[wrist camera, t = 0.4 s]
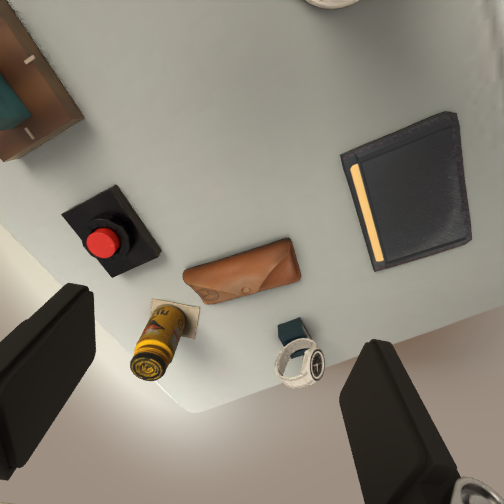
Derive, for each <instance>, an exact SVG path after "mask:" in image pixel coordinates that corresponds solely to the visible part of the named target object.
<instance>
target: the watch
mask: <svg viewBox="0 0 504 504" xmlns="http://www.w3.org/2000/svg"><path fill="white" fill-rule="evenodd" d="M278 335H279V339H280V341H281V342H282V344H283V346H284V348H282V349H281V351H280V353H279V354H278V357H277V359H276V362H275V368H276V369H275V370H276V373H277V375H278V376H279V378H280V379H281V381H282V382H283V383H284V384H285V385H286V386H288V387H290V388H295V389H297V388H303V387H306V386H310V385H312V384H313V383H314V382H315V381H316V382H317V381H319V380H320V379H321V378H322V376H323V373H324V369H325V359H324V355H323V353H322V351H321V350H320V349H319V348H318V347H317V345H316V343H315V342H314V341H312V339H311V337H310V335H309V333H308V331H307V329H306V328H305V326H304V324H303V322H302V320H301V318H297V319H294V320H292V321H289V322H286V323H283V324H281V325H278ZM304 354H305V355H304ZM301 355H304V358H303V367H302V369H301V371H300V374H301V375H299V376H298V377H297V376H296V377H293V378H292V377H291V378H287V377H283V373H284V371H285V367H286V365H287V363H288V361H289V359H290V357H291V359H293V358H296V357H298V356H301Z"/></svg>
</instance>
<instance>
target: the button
mask: <svg viewBox="0 0 504 504" xmlns="http://www.w3.org/2000/svg"><path fill="white" fill-rule="evenodd" d="M87 247H88V249H89V250H90V252H91V253H93V254H94V255H95V256H97V257H100V258H108V257H110V256H112V255H113V254H114V253H115V252H116V251H117V250H118V249H119V247H120V240H119V237H118V236H117V234H116V233H115V232H113V231H112V230H110V229H107V228H100V229H97V230H96V231H94V232H93V233H92V234H91V235H89V237H88V238H87Z"/></svg>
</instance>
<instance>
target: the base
mask: <svg viewBox="0 0 504 504" xmlns="http://www.w3.org/2000/svg"><path fill="white" fill-rule="evenodd" d="M0 73H1V74H2V76H3V77H4V78H5V80H6V81H7V82H8V84H9V85H10V86H11V88H12V89H13V90H14V92H15V93H16V95H17V96H18V97H19V99H20V100H21V101H22V103H23V104H24V105H25V107H26V108H27V110H28V111H29V112H30V114H31V115H32V116H31V117H29V118H28V119H26V120H25V121H23V122H21V123H20V124H18V125H17V126H15V127H14V128H12V129H8V130H0V159H1V160H2V161H3V162H6V161H10V160H14V159H18V158H20V157H22V156H24V155H25V154H27V153H29V152H30V151H32V150H33V149H35V148H37V147H38V146H40V145H41V144H43V143H45V142H46V141H48V140H50V139H51V138H53V137H54V136H56V135H58V134H59V133H61V132H63V131H64V130H66V129H67V128H69V127H71V126H72V125H74V124H76V123H77V122H79V121H80V120H82V119H84V116H83V115H82V113H81V112H80V110H79V109H78V107H77V106H76V104H75V103H74V101H73V100H72V98H71V97H70V95H69V94H68V92H67V91H66V89H65V88H64V86H63V85H62V83H61V82H60V80H59V79H58V77H57V76H56V74H55V73H54V71H53V70H52V68H51V67H50V65H49V64H48V62H47V61H46V59H45V58H44V56H43V55H42V53H41V52H40V50H39V49H38V47H37V46H36V44H35V43H34V41H33V40H32V38H31V37H30V35H29V34H28V32H27V31H26V29H25V28H24V26H23V25H22V23H21V22H20V20H19V19H18V17H17V16H16V14H15V13H14V11H13V10H12V8H11V7H10V5H9V4H8V2H7V1H6V0H0Z"/></svg>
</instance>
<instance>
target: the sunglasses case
mask: <svg viewBox="0 0 504 504" xmlns="http://www.w3.org/2000/svg"><path fill="white" fill-rule="evenodd" d="M300 278H301V273H300V269H299V266H298V262H297V259H296V255H295V251H294V248H293V244H292V241H291V239H290V238H285V239H281V240H278V241H275V242H272V243H269V244H266V245H264V246H260V247H257V248H254V249H251V250H248V251H245V252H242V253H238V254H235V255H232V256H229V257H226V258H222V259H219V260H216V261H213V262H209V263H206V264H203V265H199V266H195V267H192V268H189V269H186V270H184V272H183V280H184V282H185V283H186V284H187V285H189V286H190V287H191V288H192V289H193V290H194V291H195V292H196V293H197V294H198V295H199V296H200V297H201V298H202V300H203V302H204V303H205V304H207V305H210V304H215V303H219V302H223V301H227V300H231V299H234V298H238V297H241V296H246V295H250V294H253V293H256V292H260V291H264V290H267V289H271V288H275V287H279V286H283V285H287V284H291V283H294V282H297V281H299V280H300Z"/></svg>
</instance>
